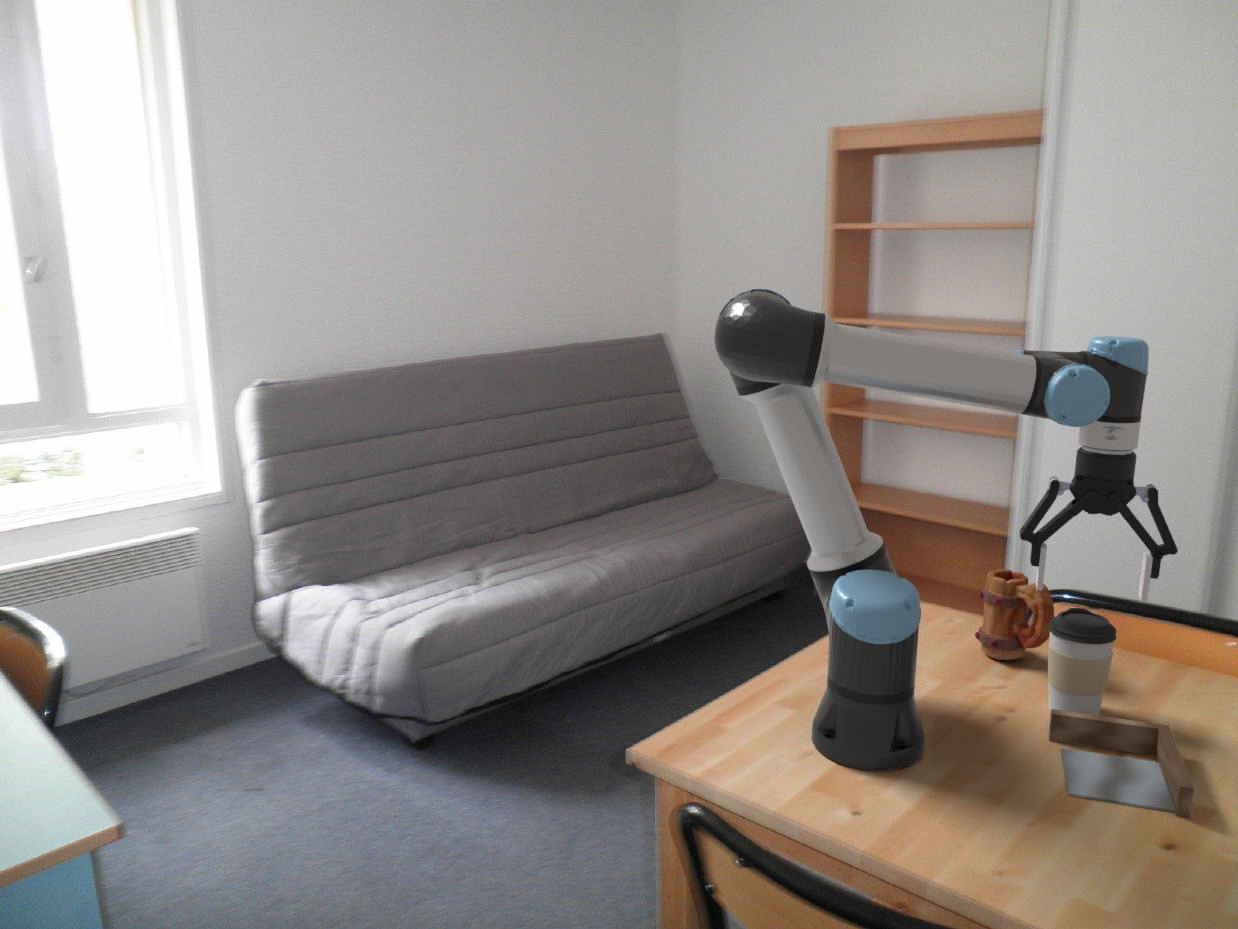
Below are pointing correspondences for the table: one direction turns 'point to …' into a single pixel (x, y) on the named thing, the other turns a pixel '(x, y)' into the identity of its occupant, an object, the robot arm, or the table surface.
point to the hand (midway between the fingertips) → (1090, 593)
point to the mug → (1013, 615)
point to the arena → (1123, 762)
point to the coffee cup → (1079, 660)
